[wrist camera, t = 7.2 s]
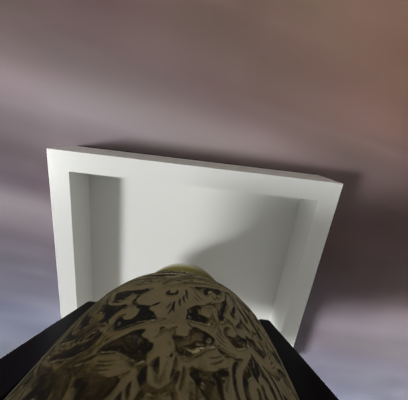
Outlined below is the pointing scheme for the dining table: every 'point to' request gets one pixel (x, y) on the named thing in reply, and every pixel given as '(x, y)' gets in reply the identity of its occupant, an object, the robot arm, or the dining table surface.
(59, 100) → the dining table surface
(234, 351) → the brown hollow flared piece
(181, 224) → the white tray
